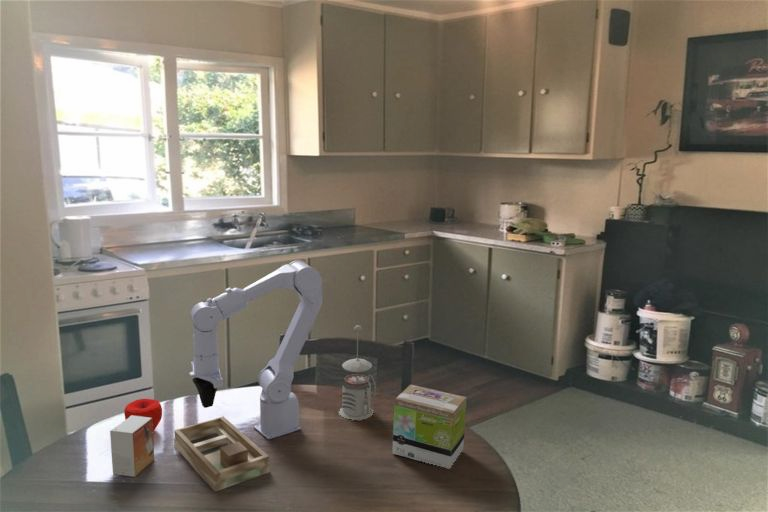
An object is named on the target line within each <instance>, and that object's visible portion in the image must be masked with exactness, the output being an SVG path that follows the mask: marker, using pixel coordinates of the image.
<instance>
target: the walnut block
mask: <svg viewBox="0 0 768 512" xmlns="http://www.w3.org/2000/svg"><path fill="white" fill-rule="evenodd" d="M245 461H248V449H247V448H245V447H244V446H243V445H242V444H241V443H240V442H235V443H232V444H229V445H226V446H223V447H220V464H221V465H222V466H223V467H224V468H228V467H231V466H234V465H237V464H239V463H242V462H245Z"/></svg>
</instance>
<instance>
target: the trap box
mask: <svg viewBox="0 0 768 512" xmlns="http://www.w3.org/2000/svg"><path fill="white" fill-rule="evenodd" d="M173 431H174V438H173V447H174V448H175V449H176V450H177V451H178V450H179V451H178V452H179V453H180V454H181V455H182V457H184V459H185V460H186V461H187V462H188V464H190V466H191V467H192V468H193V469H194V470H195V471H196V472H197V474H199V475H200V477H201V478H202V479H203V480H204V482H206V484H207V485H208V486H209V487H210V488H211V489H212V490H213V491H214V492H215V493H216V492H218V491H222V490H223V489H224V490H225V489H227V488H230V487H233V486H235V485H238V484H241V483H243V482H246V481H249V480H252V479H256V478H258V477H260V476H262V475H266V474H269V473H271V464H270V455H268V454H267V453H266V452H265V451H264V450H263V449H261V448H260V447H259V446H258V445H257V444H255V443H254V442H253V441H252V440H251V439H250V438H249V437H248V436H246V435H245V434H244V433H243V432H242V431H241V430H240V429H239V428H238V427H236V426H235V425H234V424H233V423H231V422H230V421H229V419H227V418H226V417H225V416H223V415H222V416H220V417H216V418H212V419H209V420H205V421H201V422H198V423H195V424H192V425H188V426H184V427H181V428H177V429H174V430H173ZM235 442H240V443H241V444H242V445H243V446H244V447H245V448H247V449H248V461H245V462H242V463H239V464H237V465H234V466H231V467H228V468H224V467H223V466H222V465H221V464H220V447H223V446H226V445H229V444H232V443H235Z"/></svg>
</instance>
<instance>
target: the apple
mask: <svg viewBox="0 0 768 512" xmlns="http://www.w3.org/2000/svg"><path fill="white" fill-rule="evenodd" d="M123 412H124V413H123V414H124V419H125V420H126V419H128V418H129V417H130V416H131V415H133V416H141V417H149V418H152V419H153V432H155V430H156V428H157V427H158V426H159V424H160V423H161V420H162V416H163V407H162V403H161V402H159V400H157V399H152V398H140V399H136V400H133V401H131V402H128V404H126V406H125V407H124V411H123ZM125 420H124V421H125Z"/></svg>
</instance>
